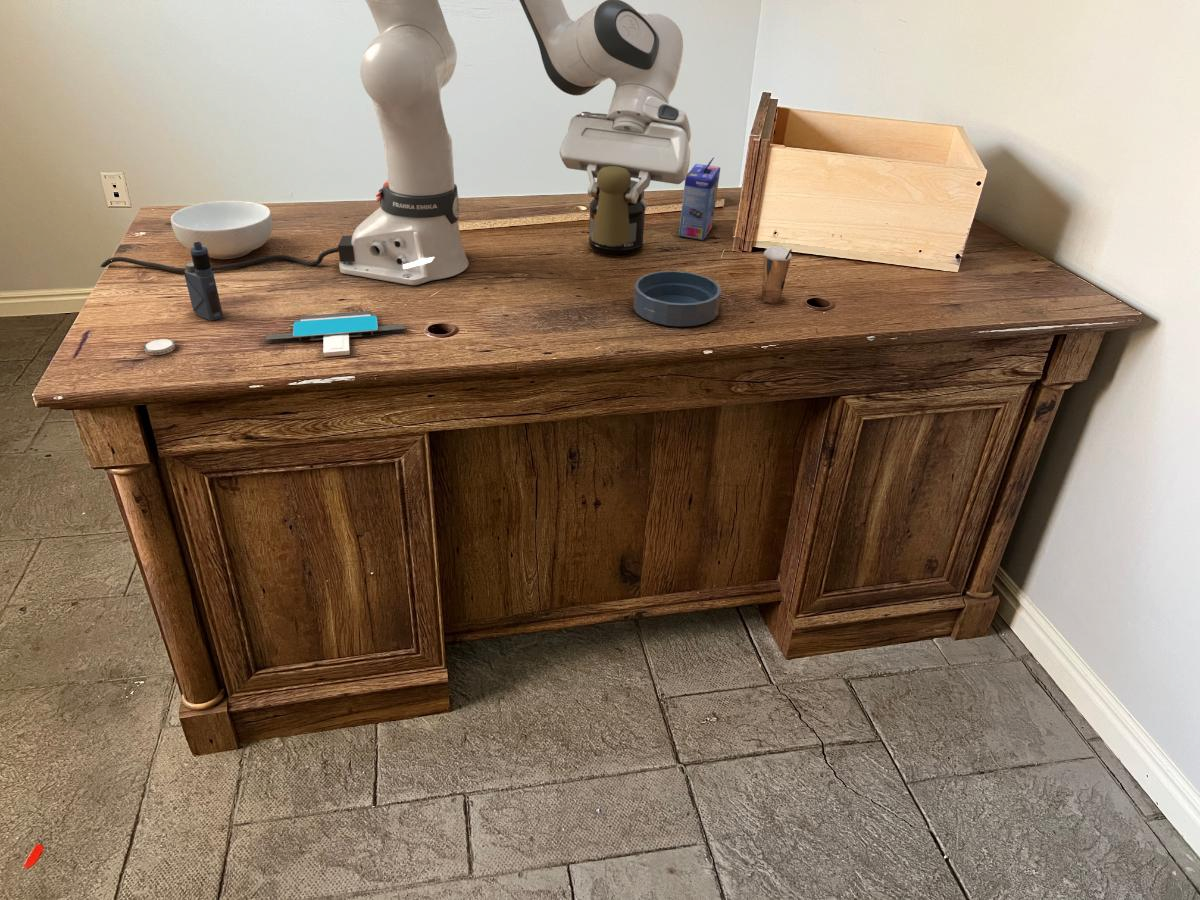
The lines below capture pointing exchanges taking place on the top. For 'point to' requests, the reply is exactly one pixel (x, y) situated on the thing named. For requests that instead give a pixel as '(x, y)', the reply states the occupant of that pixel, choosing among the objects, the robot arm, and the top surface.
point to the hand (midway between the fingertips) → (611, 198)
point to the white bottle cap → (159, 346)
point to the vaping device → (202, 284)
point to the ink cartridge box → (699, 201)
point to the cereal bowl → (223, 227)
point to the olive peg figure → (612, 207)
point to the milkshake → (774, 273)
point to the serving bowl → (676, 298)
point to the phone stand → (335, 330)
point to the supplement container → (635, 227)
